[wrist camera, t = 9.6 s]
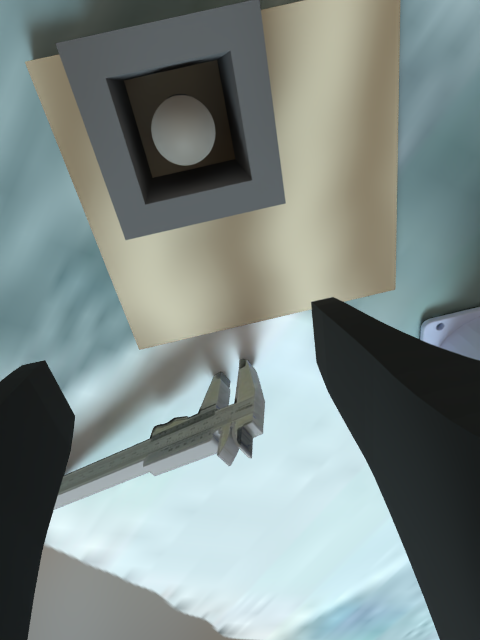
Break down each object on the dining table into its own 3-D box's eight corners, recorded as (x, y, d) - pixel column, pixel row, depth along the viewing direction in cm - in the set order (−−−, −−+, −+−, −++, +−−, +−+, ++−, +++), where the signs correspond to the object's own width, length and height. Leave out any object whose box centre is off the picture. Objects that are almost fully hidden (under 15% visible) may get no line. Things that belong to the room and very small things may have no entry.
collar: (237, 21, 15) (259, -2, 11) (261, 177, 18) (285, 203, 14) (87, 54, 14) (55, 43, 11) (136, 206, 17) (125, 240, 14)
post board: (388, -16, 15) (469, -55, 11) (386, 281, 22) (437, 328, 18) (33, 63, 15) (-23, 53, 11) (140, 339, 22) (131, 400, 18)
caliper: (245, 352, 24) (265, 431, 18) (254, 363, 24) (277, 444, 19) (-7, 508, 27) (-53, 613, 22) (6, 515, 28) (-36, 620, 22)
